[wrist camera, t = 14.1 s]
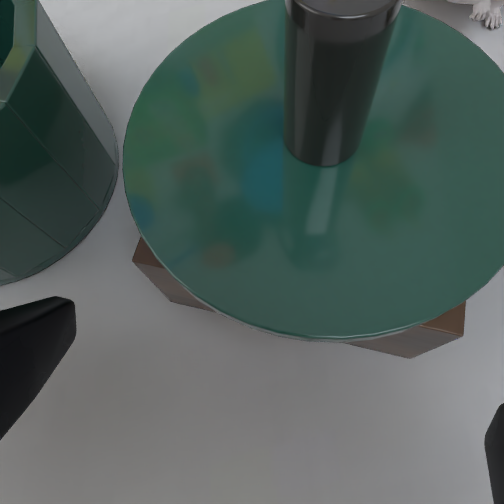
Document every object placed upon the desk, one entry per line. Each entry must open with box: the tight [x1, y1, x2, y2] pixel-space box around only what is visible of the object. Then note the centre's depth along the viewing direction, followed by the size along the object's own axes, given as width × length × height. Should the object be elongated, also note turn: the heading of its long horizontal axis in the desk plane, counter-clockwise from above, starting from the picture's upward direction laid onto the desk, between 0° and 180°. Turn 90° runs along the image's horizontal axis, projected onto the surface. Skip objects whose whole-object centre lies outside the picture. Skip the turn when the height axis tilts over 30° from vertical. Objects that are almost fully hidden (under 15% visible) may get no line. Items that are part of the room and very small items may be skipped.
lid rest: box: [132, 236, 466, 359], centre depth 16 cm, size 10×10×5 cm
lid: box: [123, 0, 504, 343], centre depth 11 cm, size 13×13×6 cm
